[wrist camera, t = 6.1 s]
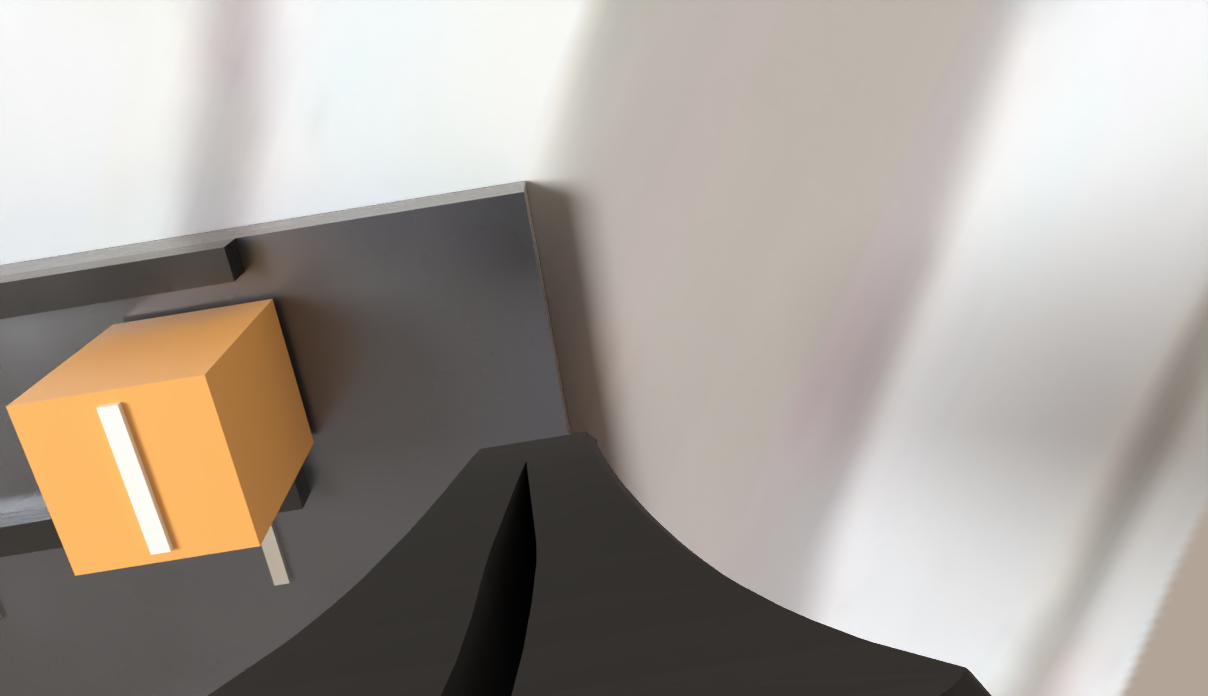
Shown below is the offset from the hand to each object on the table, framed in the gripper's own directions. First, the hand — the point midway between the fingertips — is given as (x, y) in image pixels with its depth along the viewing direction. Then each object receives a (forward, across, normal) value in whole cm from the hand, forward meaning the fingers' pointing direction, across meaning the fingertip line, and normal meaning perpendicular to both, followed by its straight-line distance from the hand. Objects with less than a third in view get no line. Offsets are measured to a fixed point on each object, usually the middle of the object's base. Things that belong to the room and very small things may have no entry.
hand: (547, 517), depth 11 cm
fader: (+7, +6, 0) cm, 9 cm away
